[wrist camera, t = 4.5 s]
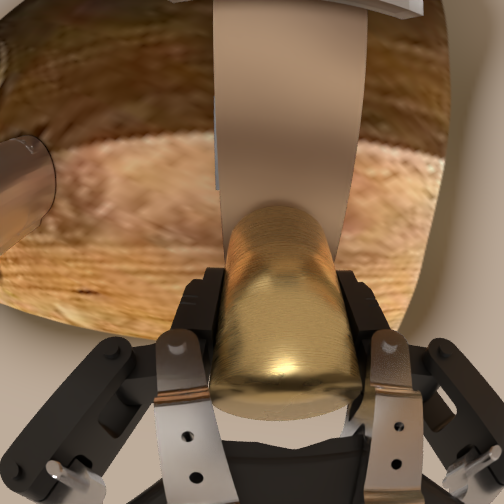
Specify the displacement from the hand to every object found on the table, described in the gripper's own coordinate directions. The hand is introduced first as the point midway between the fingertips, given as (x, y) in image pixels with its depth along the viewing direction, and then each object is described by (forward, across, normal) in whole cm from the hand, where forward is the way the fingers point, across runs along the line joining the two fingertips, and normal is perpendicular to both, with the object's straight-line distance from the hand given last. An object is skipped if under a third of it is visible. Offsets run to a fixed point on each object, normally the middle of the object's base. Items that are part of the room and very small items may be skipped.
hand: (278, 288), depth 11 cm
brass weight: (+2, 0, -1) cm, 2 cm away
